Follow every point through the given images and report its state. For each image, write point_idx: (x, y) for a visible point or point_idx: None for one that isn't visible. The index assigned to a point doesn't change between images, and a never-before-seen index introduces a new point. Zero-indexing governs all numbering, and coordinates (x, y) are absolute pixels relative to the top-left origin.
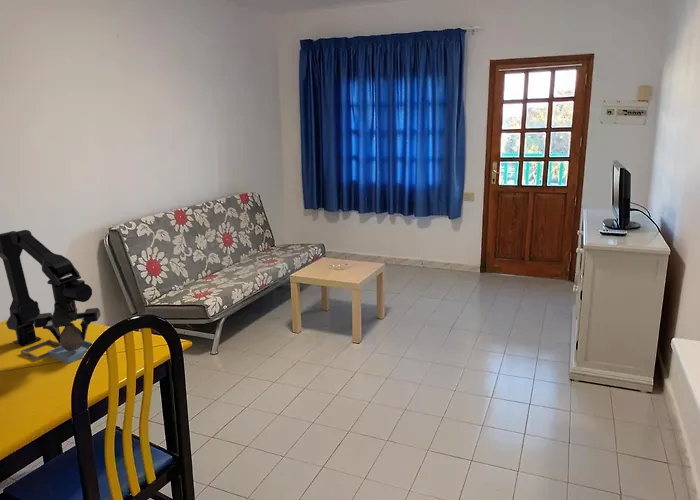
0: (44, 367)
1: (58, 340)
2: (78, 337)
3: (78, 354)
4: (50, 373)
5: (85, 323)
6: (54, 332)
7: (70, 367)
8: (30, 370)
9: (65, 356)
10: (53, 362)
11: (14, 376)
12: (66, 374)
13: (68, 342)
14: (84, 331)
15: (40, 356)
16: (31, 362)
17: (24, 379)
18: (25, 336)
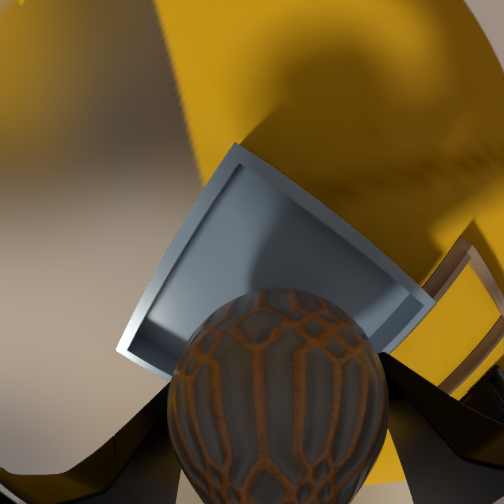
0: (396, 124)
1: (395, 367)
2: (172, 388)
3: (180, 229)
4: (307, 24)
5: (2, 484)
6: (457, 425)
7: (198, 91)
8: (453, 108)
9: (308, 253)
10: (369, 192)
11: (483, 67)
12: (183, 8)
13: (265, 320)
14: (115, 440)
15: (459, 259)
16: (478, 220)
17: (421, 8)
18: (500, 399)
